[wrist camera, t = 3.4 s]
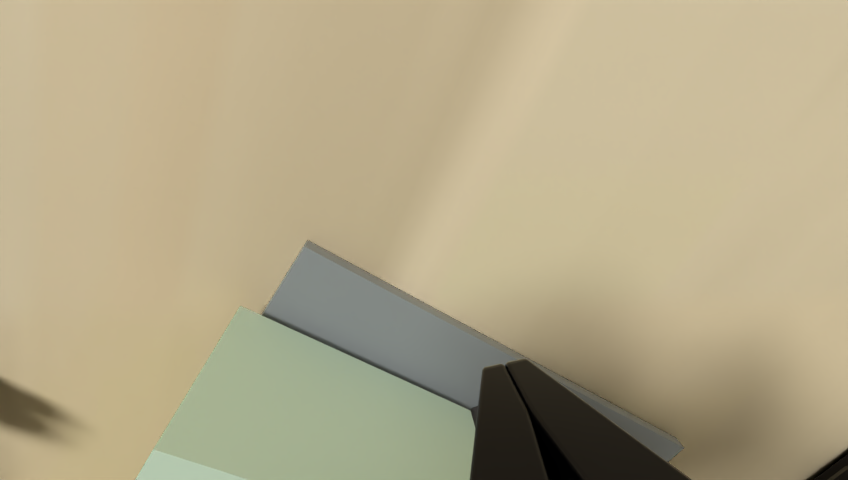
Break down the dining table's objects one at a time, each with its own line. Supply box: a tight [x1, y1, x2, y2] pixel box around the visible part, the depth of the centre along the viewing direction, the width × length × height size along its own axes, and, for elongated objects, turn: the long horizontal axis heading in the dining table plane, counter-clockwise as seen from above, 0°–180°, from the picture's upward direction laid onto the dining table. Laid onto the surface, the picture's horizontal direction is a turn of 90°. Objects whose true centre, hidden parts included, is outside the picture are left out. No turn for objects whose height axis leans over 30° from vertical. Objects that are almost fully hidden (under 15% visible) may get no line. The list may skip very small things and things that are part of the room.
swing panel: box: [135, 306, 475, 480], centre depth 11 cm, size 9×1×5 cm, turn 56°
